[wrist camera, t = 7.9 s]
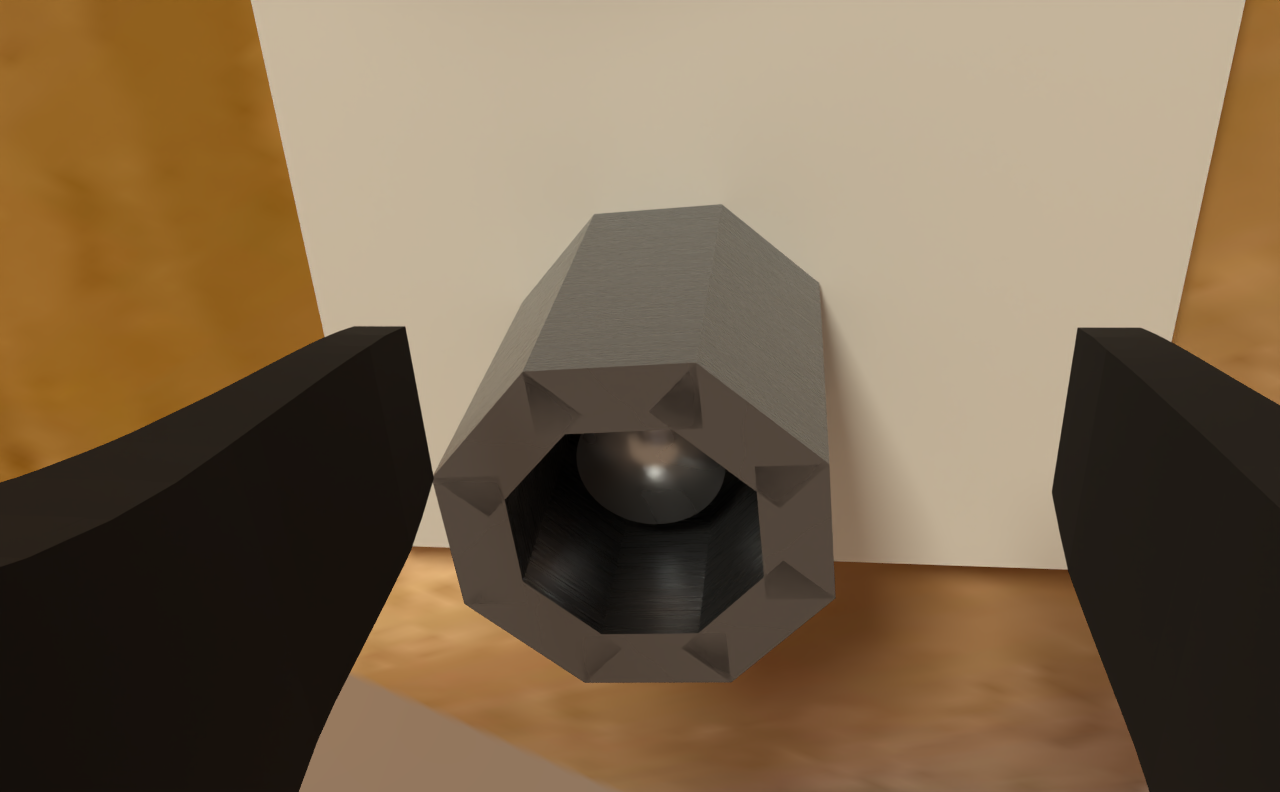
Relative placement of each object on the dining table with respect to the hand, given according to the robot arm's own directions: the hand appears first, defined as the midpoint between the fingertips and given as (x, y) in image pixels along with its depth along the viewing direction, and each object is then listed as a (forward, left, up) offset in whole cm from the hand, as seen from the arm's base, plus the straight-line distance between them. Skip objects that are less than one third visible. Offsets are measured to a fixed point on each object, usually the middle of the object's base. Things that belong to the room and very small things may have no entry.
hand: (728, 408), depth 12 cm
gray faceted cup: (+2, +3, -8) cm, 9 cm away
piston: (+2, +3, -8) cm, 9 cm away
